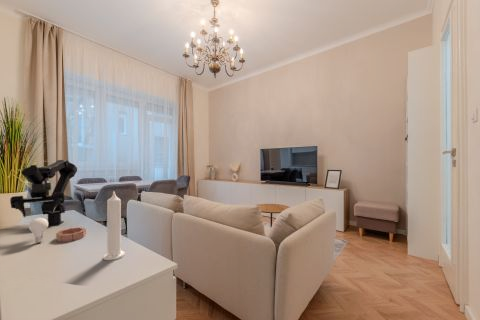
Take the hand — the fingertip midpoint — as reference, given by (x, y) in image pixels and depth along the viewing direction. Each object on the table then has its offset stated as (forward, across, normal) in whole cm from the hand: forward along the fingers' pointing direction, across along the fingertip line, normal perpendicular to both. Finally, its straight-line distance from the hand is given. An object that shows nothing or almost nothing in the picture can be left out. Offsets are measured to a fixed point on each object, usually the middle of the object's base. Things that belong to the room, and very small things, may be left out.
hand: (38, 214), depth 101 cm
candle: (+37, +22, -20) cm, 48 cm away
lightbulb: (+12, 0, +5) cm, 13 cm away
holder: (+12, +12, +4) cm, 17 cm away
